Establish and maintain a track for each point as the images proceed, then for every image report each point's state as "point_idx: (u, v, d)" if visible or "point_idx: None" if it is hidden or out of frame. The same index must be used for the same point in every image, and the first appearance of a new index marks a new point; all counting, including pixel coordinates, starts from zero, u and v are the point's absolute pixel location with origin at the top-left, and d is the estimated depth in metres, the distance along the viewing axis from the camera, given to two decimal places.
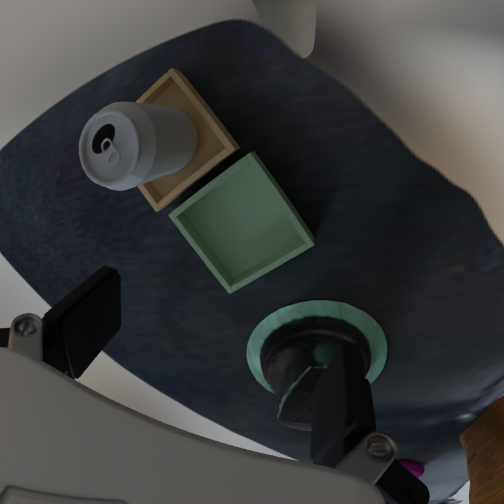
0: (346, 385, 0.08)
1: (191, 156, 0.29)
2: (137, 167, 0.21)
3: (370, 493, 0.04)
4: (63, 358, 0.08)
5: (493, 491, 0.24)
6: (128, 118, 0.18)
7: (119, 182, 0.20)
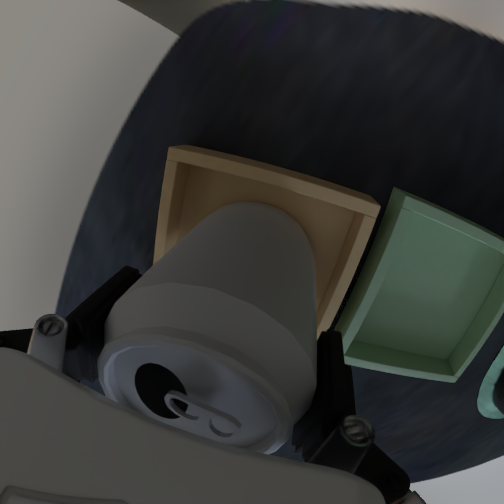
0: (325, 369, 0.09)
1: (314, 263, 0.16)
2: (290, 409, 0.08)
3: (370, 493, 0.04)
4: (87, 358, 0.09)
5: None
6: (183, 344, 0.06)
7: (271, 451, 0.08)
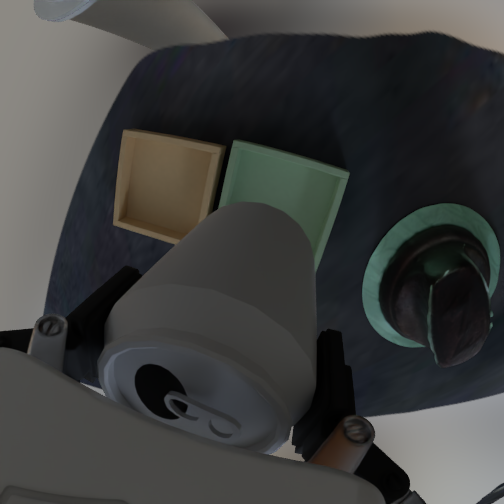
0: (325, 369, 0.09)
1: (314, 264, 0.16)
2: (290, 409, 0.08)
3: (370, 493, 0.04)
4: (87, 359, 0.09)
5: None
6: (182, 345, 0.06)
7: (271, 452, 0.08)
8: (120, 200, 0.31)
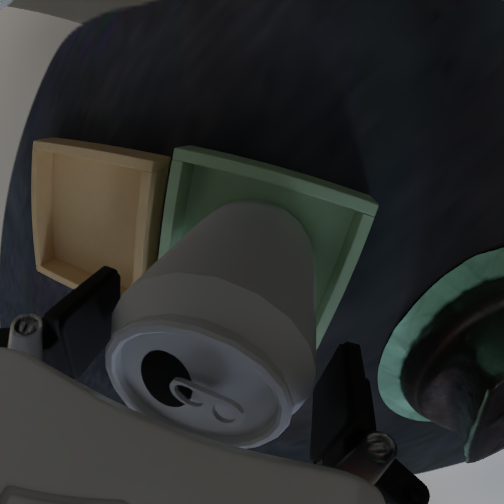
0: (346, 385, 0.08)
1: (313, 259, 0.17)
2: (291, 395, 0.08)
3: (370, 493, 0.04)
4: (63, 359, 0.08)
5: None
6: (189, 329, 0.07)
7: (272, 438, 0.08)
8: (40, 238, 0.20)
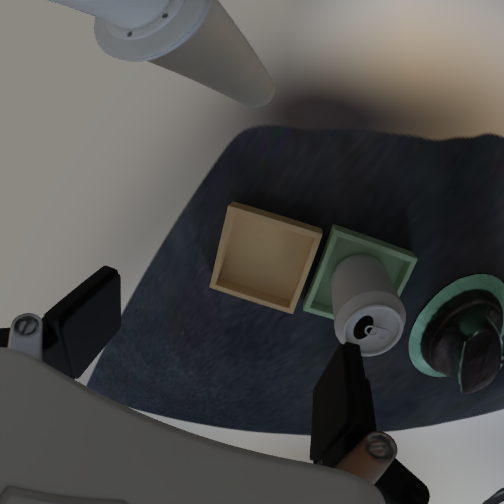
0: (346, 385, 0.08)
1: None
2: None
3: (370, 493, 0.04)
4: (63, 359, 0.08)
5: None
6: (384, 306, 0.25)
7: None
8: (220, 267, 0.38)
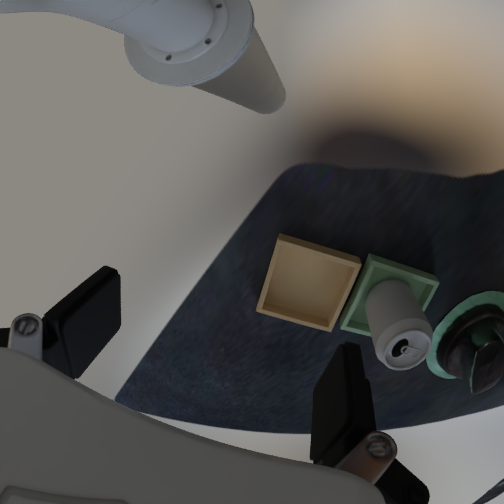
0: (346, 385, 0.08)
1: None
2: None
3: (370, 493, 0.04)
4: (63, 359, 0.08)
5: None
6: (418, 331, 0.28)
7: None
8: (266, 293, 0.41)
